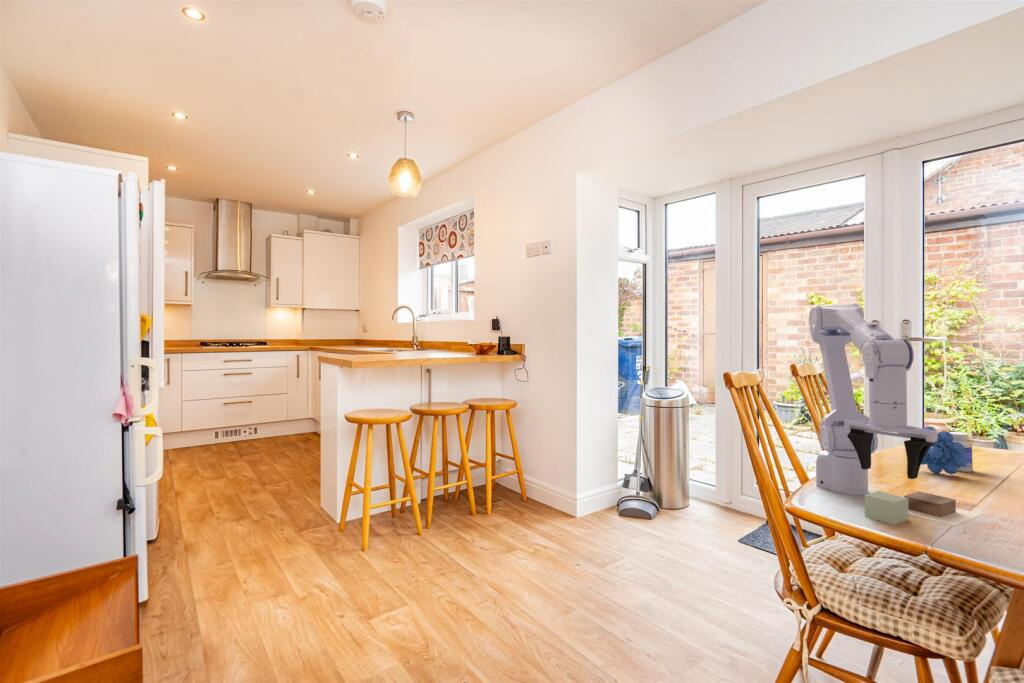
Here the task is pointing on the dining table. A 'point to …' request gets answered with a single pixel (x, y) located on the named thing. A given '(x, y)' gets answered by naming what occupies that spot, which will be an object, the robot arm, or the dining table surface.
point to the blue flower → (944, 454)
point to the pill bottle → (967, 454)
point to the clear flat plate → (948, 516)
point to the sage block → (886, 507)
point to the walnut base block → (931, 504)
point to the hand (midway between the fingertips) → (888, 473)
